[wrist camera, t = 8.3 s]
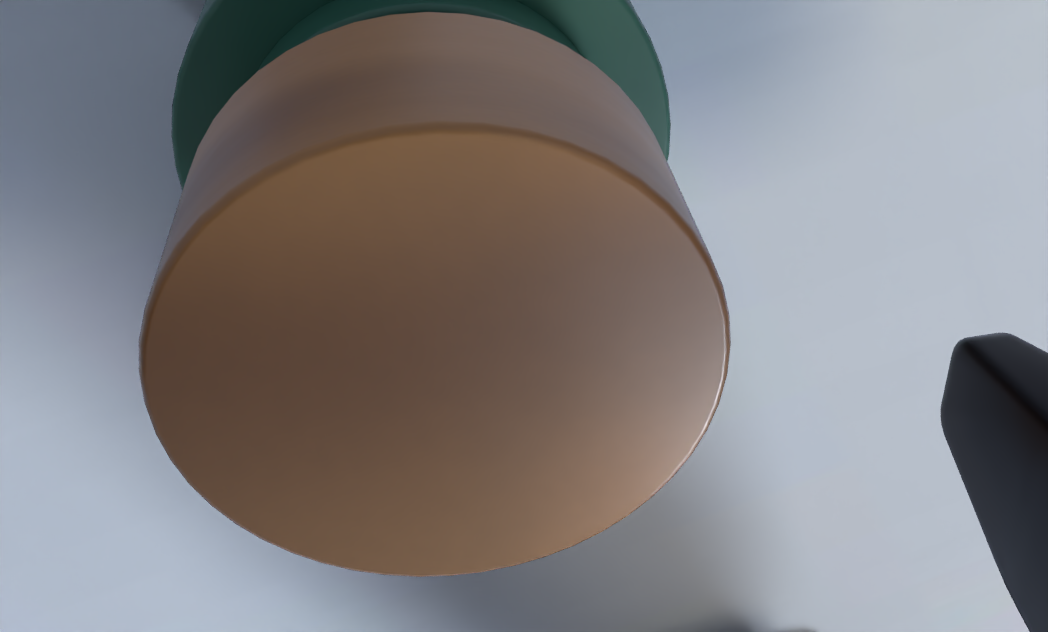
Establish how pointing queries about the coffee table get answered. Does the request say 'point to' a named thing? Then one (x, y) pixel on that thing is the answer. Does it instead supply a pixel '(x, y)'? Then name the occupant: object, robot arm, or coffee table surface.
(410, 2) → the bottle
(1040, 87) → the coffee table surface
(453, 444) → the cylinder
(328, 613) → the coffee table surface
